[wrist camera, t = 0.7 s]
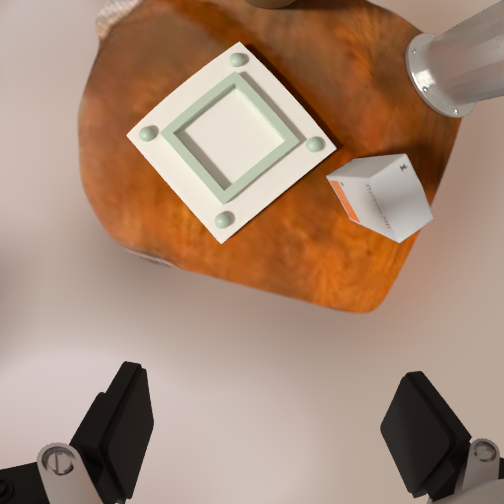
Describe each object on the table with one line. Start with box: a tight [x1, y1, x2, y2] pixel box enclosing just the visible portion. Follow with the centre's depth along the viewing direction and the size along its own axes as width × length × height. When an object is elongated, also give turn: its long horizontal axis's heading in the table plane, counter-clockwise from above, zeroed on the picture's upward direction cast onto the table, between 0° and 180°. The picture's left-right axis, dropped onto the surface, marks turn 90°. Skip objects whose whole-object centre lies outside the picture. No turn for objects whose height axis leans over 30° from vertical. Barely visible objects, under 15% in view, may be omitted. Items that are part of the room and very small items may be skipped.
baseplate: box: [127, 42, 336, 244], centre depth 29 cm, size 16×16×3 cm
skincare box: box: [326, 154, 434, 243], centre depth 26 cm, size 6×4×12 cm
